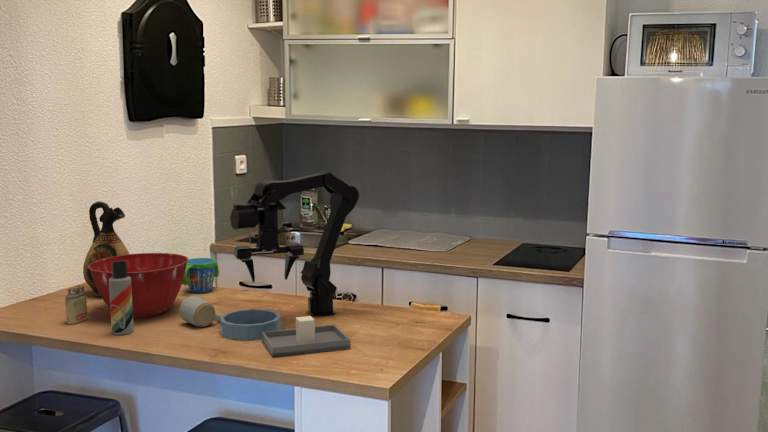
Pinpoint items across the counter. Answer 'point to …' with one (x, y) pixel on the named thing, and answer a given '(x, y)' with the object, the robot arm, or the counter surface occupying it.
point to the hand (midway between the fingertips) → (269, 280)
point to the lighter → (76, 305)
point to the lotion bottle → (121, 299)
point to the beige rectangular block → (305, 330)
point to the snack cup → (200, 274)
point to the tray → (287, 344)
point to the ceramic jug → (103, 239)
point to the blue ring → (257, 319)
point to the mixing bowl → (144, 280)
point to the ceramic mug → (198, 312)
